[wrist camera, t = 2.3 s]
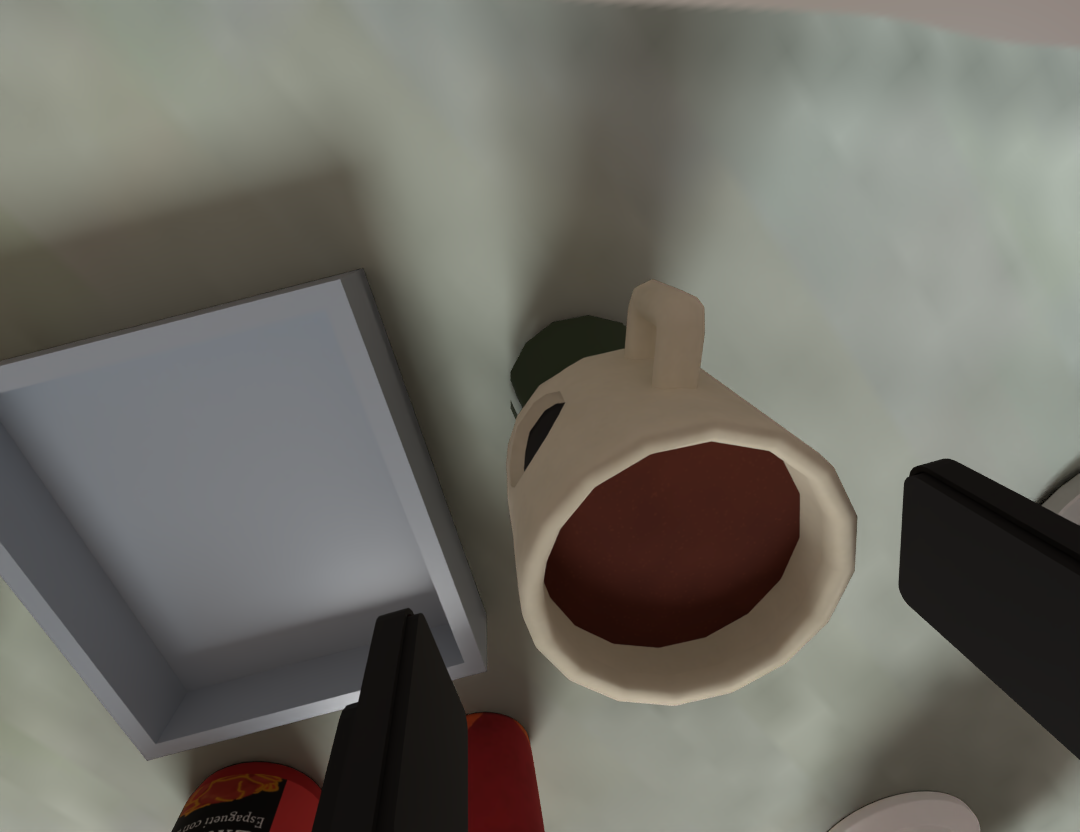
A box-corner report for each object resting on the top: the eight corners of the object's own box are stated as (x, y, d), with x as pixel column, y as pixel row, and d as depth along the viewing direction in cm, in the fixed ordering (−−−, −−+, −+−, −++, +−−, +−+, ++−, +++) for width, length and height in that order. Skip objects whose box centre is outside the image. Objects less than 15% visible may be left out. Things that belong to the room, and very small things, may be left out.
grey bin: (363, 268, 20) (339, 279, 17) (486, 615, 27) (487, 671, 23) (-36, 370, 20) (-138, 401, 17) (188, 693, 26) (147, 760, 23)
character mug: (496, 252, 20) (517, 311, 8) (674, 253, 21) (932, 310, 9) (499, 497, 24) (517, 781, 12) (649, 491, 25) (805, 754, 13)
